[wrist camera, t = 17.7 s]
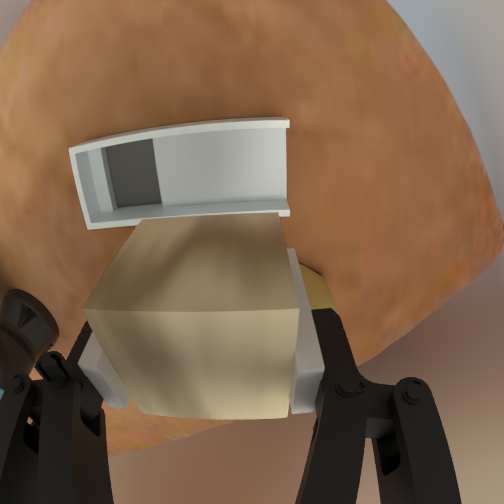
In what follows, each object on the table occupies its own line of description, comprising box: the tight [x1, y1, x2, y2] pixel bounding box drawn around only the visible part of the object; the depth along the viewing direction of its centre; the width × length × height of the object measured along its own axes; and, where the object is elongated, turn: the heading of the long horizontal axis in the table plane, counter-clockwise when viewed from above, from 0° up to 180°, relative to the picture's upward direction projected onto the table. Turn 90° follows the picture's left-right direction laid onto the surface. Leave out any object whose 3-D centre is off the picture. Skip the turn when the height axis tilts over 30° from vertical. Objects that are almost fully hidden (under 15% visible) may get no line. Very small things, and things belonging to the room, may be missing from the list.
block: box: [82, 212, 300, 419], centre depth 11 cm, size 6×6×6 cm
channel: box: [69, 117, 290, 230], centre depth 31 cm, size 25×11×4 cm, turn 93°
